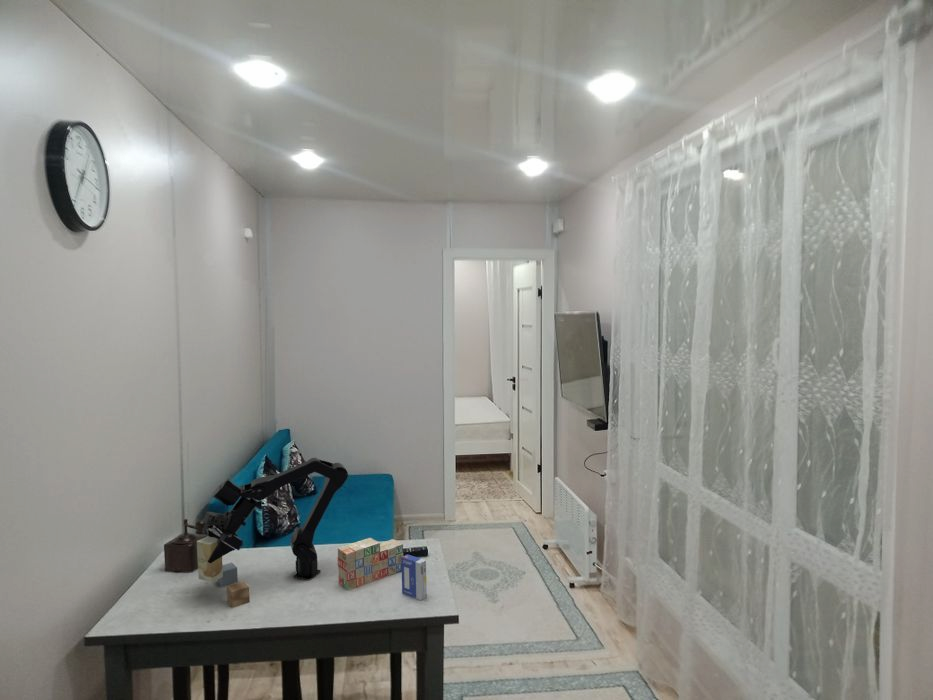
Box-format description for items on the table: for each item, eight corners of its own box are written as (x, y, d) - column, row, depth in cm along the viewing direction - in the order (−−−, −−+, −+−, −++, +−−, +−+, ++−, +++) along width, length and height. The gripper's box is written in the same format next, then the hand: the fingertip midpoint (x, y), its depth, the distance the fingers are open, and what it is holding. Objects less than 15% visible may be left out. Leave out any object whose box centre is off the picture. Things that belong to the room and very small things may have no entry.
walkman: (402, 593, 178) (401, 556, 177) (407, 589, 180) (407, 553, 179) (421, 600, 173) (420, 562, 172) (427, 596, 175) (426, 559, 174)
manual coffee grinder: (162, 572, 194) (159, 521, 193) (182, 558, 205) (179, 509, 204) (205, 574, 192) (202, 522, 191) (222, 559, 203) (220, 510, 202)
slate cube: (232, 576, 190) (231, 562, 190) (237, 582, 187) (237, 567, 186) (216, 581, 187) (216, 566, 187) (222, 587, 183) (221, 572, 183)
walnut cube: (243, 596, 177) (243, 580, 177) (249, 602, 174) (248, 586, 173) (227, 601, 174) (226, 586, 174) (232, 608, 170) (232, 592, 170)
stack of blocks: (394, 564, 198) (393, 530, 197) (404, 570, 193) (403, 535, 192) (338, 583, 185) (337, 547, 184) (347, 591, 180) (346, 553, 179)
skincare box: (198, 579, 175) (195, 541, 175) (209, 573, 179) (207, 535, 178) (212, 583, 173) (209, 544, 172) (224, 576, 176) (221, 538, 176)
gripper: (209, 494, 184) (175, 537, 177) (229, 508, 170) (192, 556, 163) (236, 511, 189) (203, 553, 183) (257, 527, 175) (223, 573, 169)
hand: (205, 558), depth 175 cm, fingers closed on skincare box, 7 cm apart
